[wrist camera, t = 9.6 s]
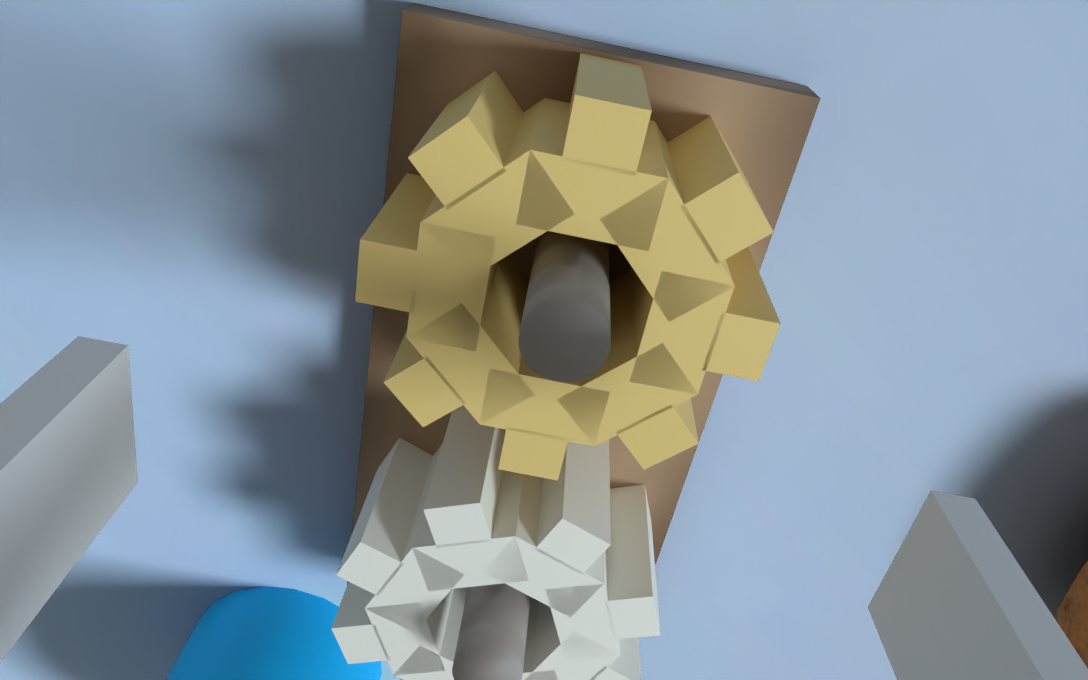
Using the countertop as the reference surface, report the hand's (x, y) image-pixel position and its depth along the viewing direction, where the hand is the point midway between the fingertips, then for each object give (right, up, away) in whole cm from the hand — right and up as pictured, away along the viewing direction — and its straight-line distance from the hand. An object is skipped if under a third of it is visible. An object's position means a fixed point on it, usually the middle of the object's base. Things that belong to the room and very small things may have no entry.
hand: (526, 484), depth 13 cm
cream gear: (-1, -4, +15) cm, 16 cm away
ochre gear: (+1, +5, +10) cm, 11 cm away
